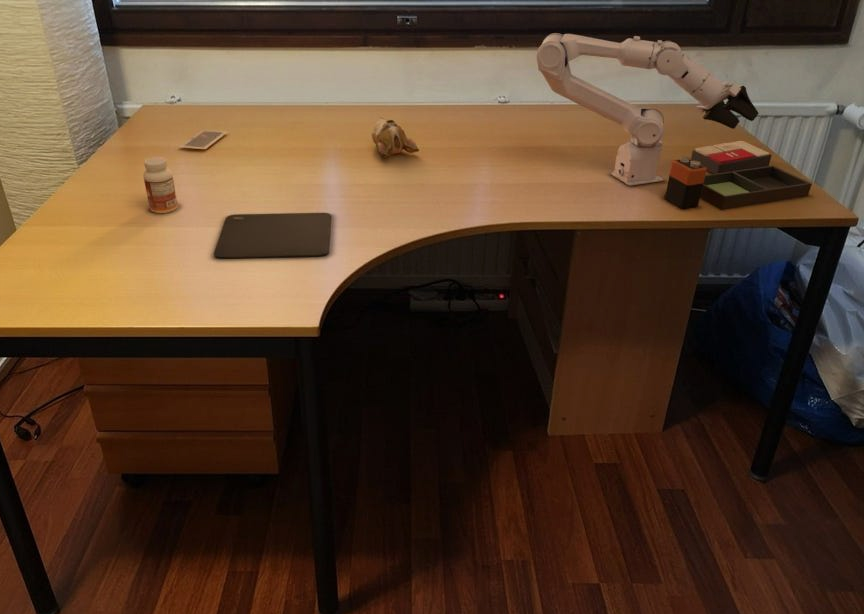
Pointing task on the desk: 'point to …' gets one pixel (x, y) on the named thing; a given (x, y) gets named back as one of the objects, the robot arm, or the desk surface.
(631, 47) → the robot arm
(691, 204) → the battery
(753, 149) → the red and cream box
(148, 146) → the desk surface
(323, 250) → the mouse pad
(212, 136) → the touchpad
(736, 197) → the organizer
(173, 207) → the pill bottle
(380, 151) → the ceramic sculpture
